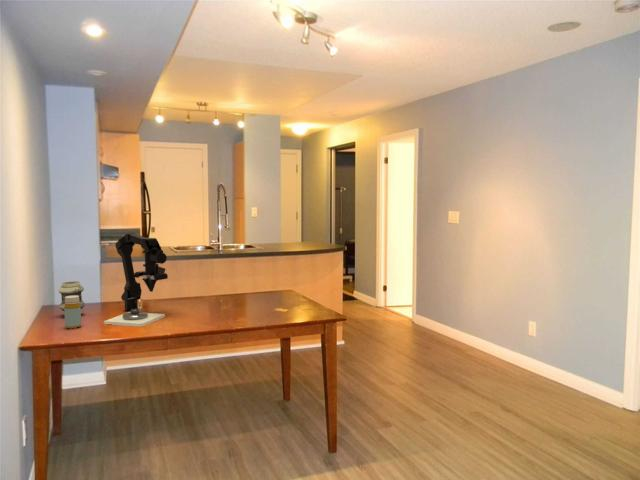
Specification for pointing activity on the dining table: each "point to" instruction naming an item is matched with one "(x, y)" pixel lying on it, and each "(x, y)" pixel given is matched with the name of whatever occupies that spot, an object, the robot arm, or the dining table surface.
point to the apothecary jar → (71, 292)
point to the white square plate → (135, 322)
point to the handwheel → (136, 312)
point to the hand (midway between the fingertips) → (151, 291)
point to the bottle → (72, 311)
